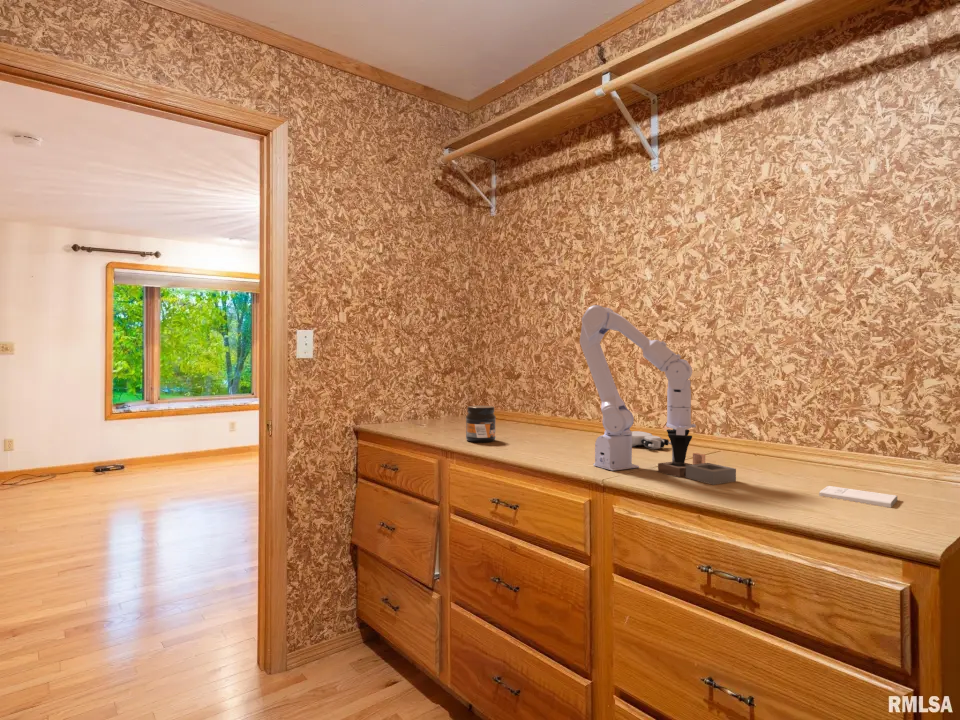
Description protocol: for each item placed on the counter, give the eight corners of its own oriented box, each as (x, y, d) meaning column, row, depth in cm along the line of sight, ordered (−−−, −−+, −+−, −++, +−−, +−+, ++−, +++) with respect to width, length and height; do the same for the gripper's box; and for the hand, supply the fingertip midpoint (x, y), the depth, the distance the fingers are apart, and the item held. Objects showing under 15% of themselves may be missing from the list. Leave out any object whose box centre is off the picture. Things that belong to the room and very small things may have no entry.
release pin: (688, 472, 136) (688, 456, 136) (679, 470, 139) (679, 454, 139) (705, 469, 139) (705, 454, 139) (696, 467, 142) (696, 452, 142)
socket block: (679, 477, 132) (679, 468, 132) (658, 471, 138) (658, 463, 138) (699, 474, 135) (699, 465, 135) (677, 469, 141) (677, 460, 141)
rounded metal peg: (678, 474, 134) (678, 443, 134) (669, 472, 137) (669, 441, 137) (687, 473, 136) (687, 442, 136) (677, 471, 139) (677, 440, 139)
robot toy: (675, 451, 173) (639, 441, 186) (676, 438, 173) (640, 429, 185) (650, 455, 166) (614, 444, 179) (651, 441, 166) (615, 431, 179)
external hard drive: (890, 510, 106) (818, 498, 115) (897, 502, 112) (828, 491, 121) (890, 502, 106) (819, 491, 115) (897, 495, 112) (828, 484, 121)
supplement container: (481, 444, 179) (481, 408, 179) (459, 440, 187) (459, 406, 187) (501, 440, 187) (502, 406, 187) (480, 437, 194) (480, 404, 194)
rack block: (713, 484, 124) (713, 471, 124) (685, 477, 131) (685, 465, 131) (735, 481, 128) (735, 468, 128) (707, 474, 135) (707, 462, 135)
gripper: (698, 409, 128) (698, 466, 128) (693, 404, 142) (693, 455, 142) (667, 409, 130) (667, 464, 130) (665, 404, 144) (665, 453, 144)
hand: (678, 459), depth 136 cm, fingers open, 7 cm apart
